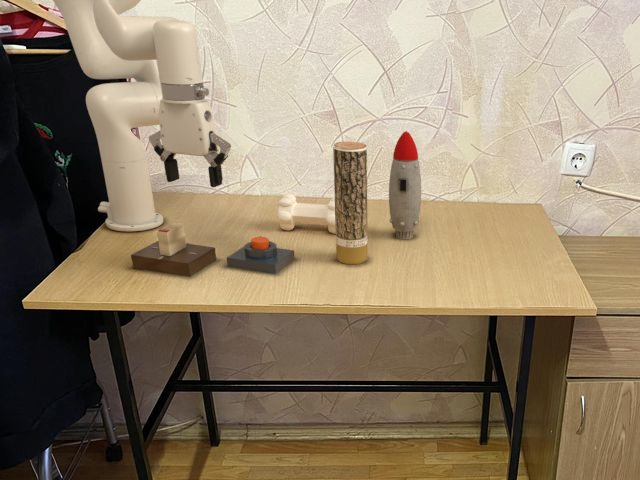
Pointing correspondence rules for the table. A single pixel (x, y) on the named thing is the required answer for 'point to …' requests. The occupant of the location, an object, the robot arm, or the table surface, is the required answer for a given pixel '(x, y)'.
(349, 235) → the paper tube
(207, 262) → the panel
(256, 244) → the button
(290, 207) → the dog bone
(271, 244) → the button box
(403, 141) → the toy rocket
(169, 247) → the beige block
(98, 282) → the table surface
